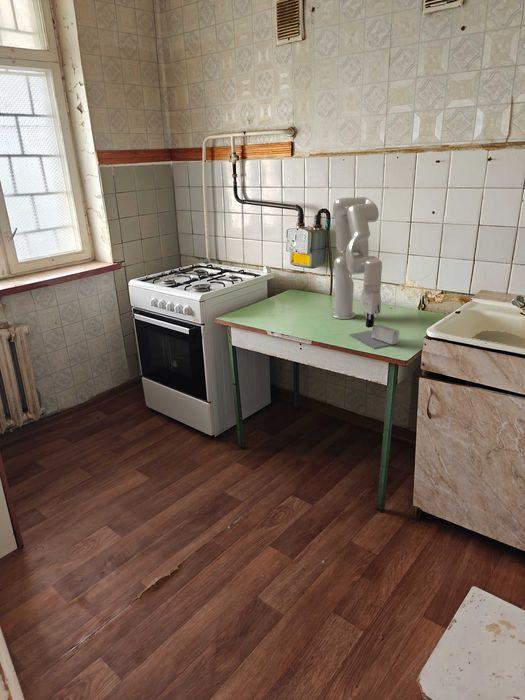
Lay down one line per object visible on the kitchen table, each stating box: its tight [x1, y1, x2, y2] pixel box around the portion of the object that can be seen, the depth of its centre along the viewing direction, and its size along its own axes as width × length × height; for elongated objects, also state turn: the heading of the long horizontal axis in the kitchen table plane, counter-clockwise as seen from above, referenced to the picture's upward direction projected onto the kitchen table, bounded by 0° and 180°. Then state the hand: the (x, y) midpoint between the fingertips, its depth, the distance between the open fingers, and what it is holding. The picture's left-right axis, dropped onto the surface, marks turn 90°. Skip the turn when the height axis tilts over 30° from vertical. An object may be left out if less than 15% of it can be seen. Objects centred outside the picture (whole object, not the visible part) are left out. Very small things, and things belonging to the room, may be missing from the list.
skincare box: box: [371, 324, 400, 344], centre depth 224 cm, size 6×4×12 cm
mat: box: [348, 330, 398, 350], centre depth 228 cm, size 20×12×1 cm, turn 24°
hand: (369, 326), depth 228 cm, fingers closed
